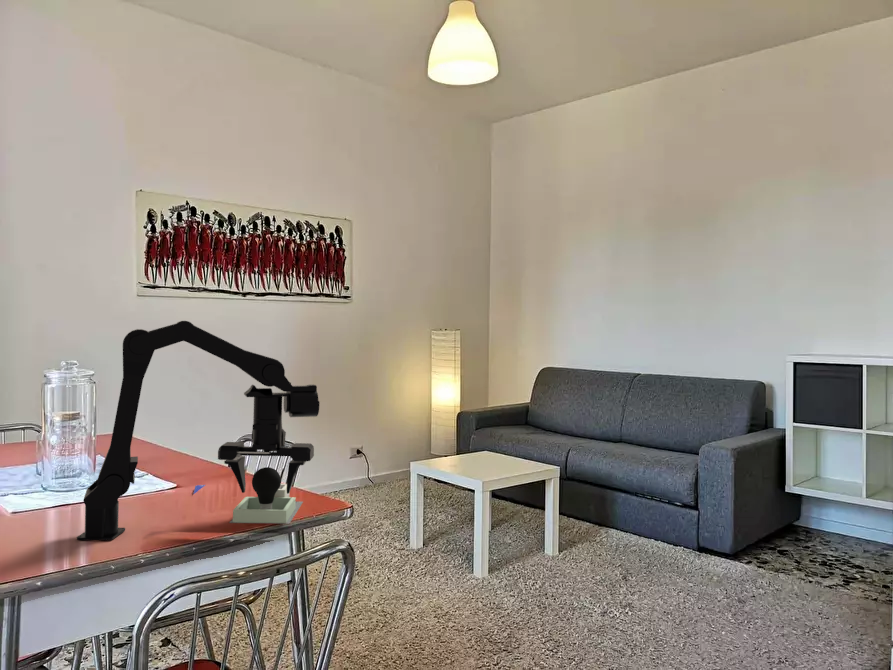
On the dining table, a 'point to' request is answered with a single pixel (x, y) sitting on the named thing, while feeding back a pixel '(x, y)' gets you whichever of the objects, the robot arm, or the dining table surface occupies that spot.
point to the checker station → (279, 513)
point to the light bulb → (266, 486)
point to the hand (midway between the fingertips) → (266, 492)
